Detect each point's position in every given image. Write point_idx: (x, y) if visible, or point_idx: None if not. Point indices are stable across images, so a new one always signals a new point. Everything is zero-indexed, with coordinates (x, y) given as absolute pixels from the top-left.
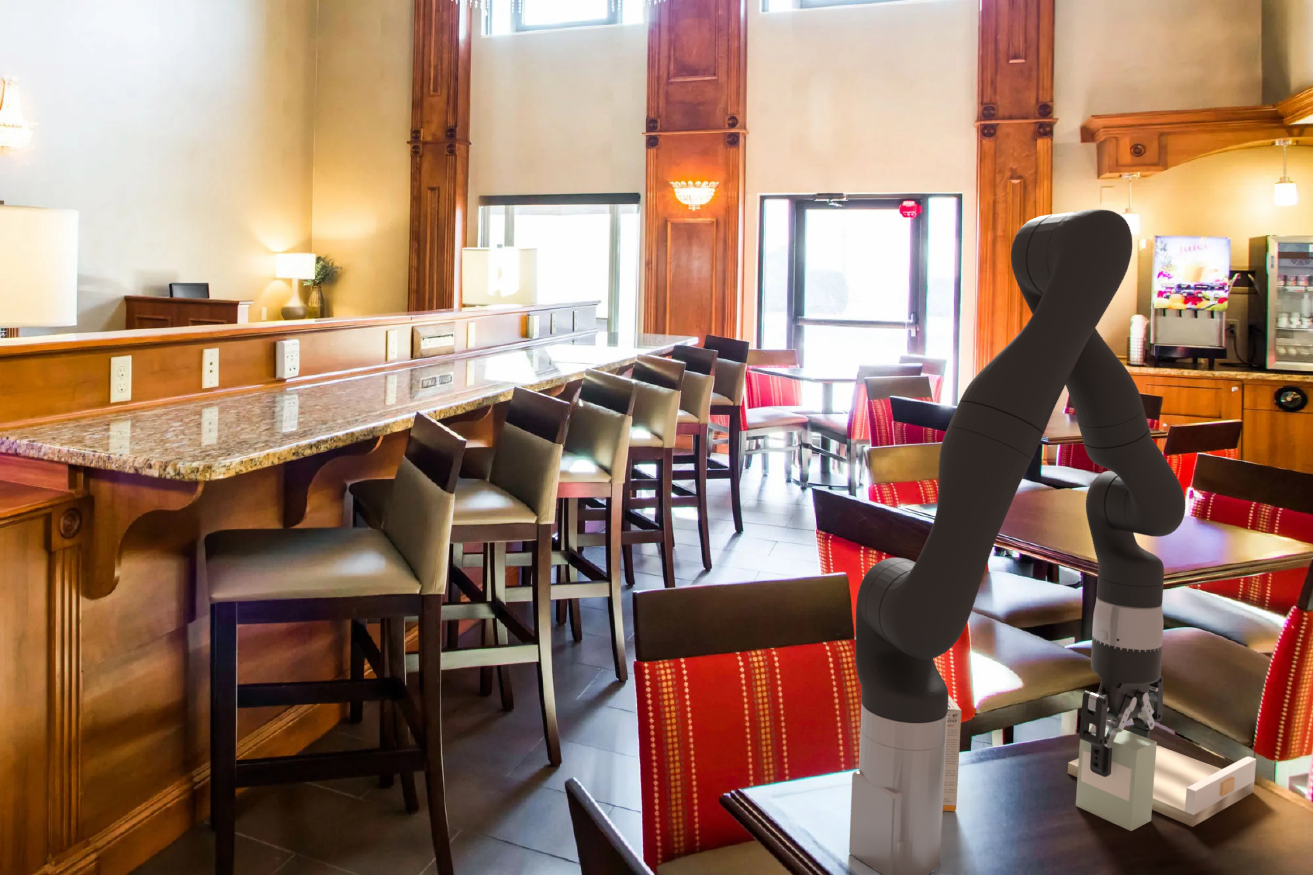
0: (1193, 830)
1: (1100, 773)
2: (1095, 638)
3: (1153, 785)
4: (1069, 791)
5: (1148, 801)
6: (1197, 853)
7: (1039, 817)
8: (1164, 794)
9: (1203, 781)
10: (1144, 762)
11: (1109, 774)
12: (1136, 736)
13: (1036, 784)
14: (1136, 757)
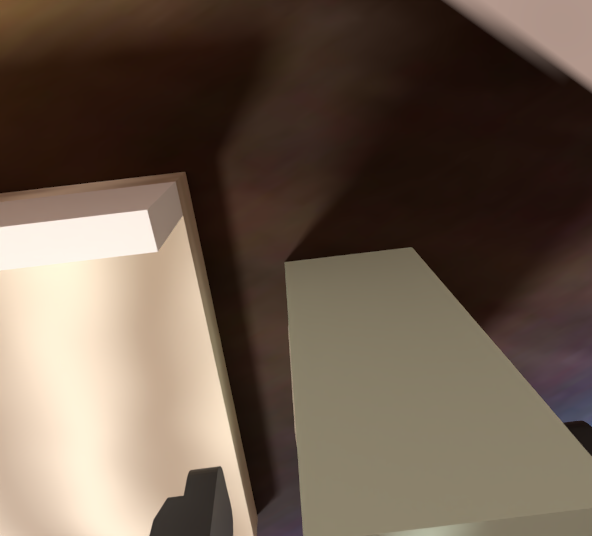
0: (204, 154)
1: None
2: None
3: (289, 329)
4: None
5: (320, 292)
6: (353, 39)
7: (565, 398)
8: (139, 325)
9: (2, 256)
10: (440, 416)
11: (566, 425)
12: None
13: None
14: (583, 452)
